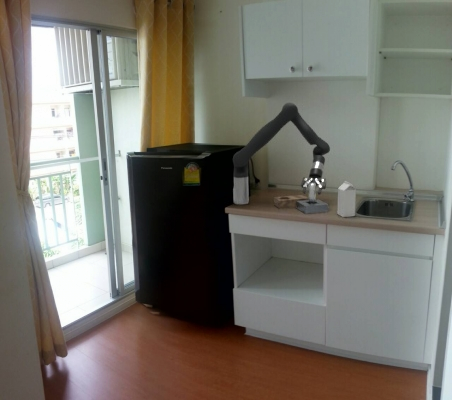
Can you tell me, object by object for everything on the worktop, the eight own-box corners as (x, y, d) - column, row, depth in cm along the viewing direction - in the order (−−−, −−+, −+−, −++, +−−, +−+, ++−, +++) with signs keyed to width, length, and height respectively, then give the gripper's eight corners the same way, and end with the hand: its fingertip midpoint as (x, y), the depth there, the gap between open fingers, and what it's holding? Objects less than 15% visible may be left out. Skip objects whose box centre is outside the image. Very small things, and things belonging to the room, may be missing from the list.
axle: (310, 211, 242) (310, 184, 238) (307, 209, 246) (307, 183, 242) (316, 210, 243) (317, 183, 239) (313, 208, 247) (314, 182, 243)
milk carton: (343, 217, 227) (344, 183, 222) (337, 214, 233) (338, 181, 229) (354, 216, 228) (356, 182, 224) (348, 213, 235) (350, 180, 231)
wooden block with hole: (279, 208, 249) (279, 200, 248) (274, 204, 259) (273, 197, 258) (310, 206, 253) (310, 198, 252) (303, 202, 263) (303, 194, 262)
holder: (305, 213, 236) (305, 206, 235) (296, 208, 250) (296, 200, 249) (328, 211, 239) (328, 204, 238) (317, 206, 252) (317, 199, 251)
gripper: (303, 167, 248) (298, 189, 241) (327, 167, 242) (322, 190, 235) (306, 174, 254) (300, 196, 247) (329, 175, 248) (324, 197, 241)
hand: (311, 193), depth 241 cm, fingers open, 8 cm apart
